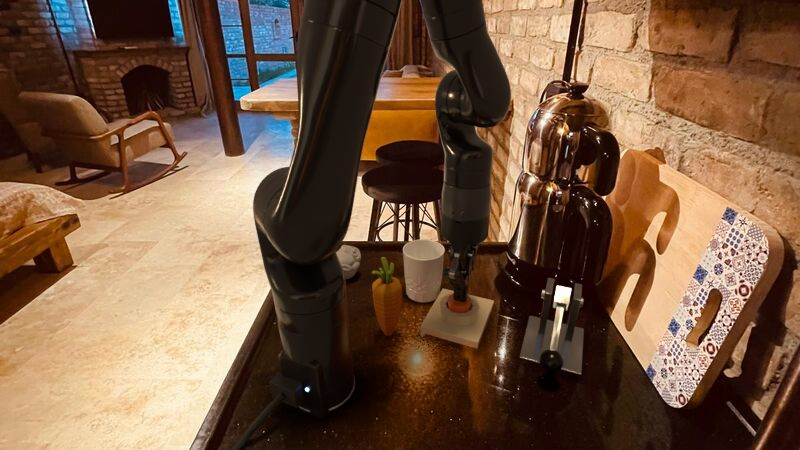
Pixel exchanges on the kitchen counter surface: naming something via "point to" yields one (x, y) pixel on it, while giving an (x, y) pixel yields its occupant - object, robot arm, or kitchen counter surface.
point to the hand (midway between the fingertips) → (460, 299)
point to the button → (459, 305)
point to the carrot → (387, 298)
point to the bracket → (570, 335)
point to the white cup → (423, 269)
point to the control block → (457, 320)
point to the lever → (556, 331)
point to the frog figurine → (349, 259)
